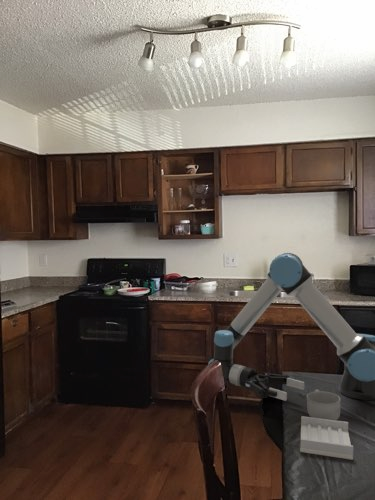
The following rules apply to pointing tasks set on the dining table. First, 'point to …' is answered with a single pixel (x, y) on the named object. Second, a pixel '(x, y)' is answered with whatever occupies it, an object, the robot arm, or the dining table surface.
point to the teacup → (323, 405)
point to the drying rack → (325, 437)
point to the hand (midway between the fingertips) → (295, 391)
